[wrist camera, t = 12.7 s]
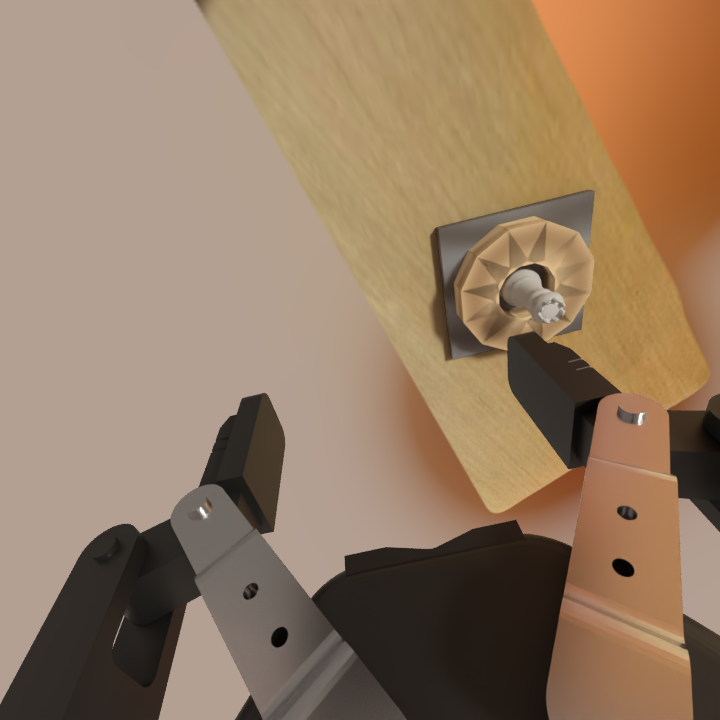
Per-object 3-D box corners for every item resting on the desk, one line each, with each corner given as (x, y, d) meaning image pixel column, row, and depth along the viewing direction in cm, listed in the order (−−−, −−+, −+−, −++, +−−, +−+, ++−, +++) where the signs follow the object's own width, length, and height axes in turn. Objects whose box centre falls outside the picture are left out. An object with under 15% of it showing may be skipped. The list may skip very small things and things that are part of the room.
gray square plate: (436, 227, 39) (445, 235, 36) (588, 189, 39) (611, 194, 36) (450, 355, 48) (459, 370, 44) (576, 326, 47) (594, 339, 44)
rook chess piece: (521, 307, 44) (557, 338, 37) (488, 295, 43) (520, 325, 36) (543, 271, 42) (586, 298, 35) (510, 258, 41) (547, 282, 34)
